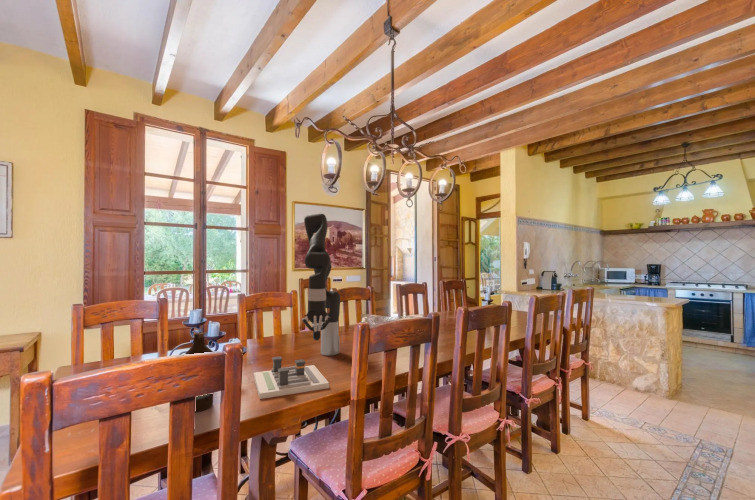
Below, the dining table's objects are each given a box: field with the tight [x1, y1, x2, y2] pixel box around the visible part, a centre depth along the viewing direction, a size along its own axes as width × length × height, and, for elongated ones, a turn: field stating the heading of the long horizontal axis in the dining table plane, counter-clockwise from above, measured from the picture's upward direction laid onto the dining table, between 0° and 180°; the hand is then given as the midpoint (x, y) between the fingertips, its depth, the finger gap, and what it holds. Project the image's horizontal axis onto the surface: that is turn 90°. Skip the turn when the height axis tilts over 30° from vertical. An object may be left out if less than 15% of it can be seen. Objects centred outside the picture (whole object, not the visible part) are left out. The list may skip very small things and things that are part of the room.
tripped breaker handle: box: [294, 358, 306, 376], centre depth 140 cm, size 4×4×6 cm
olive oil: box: [184, 332, 214, 413], centre depth 116 cm, size 11×11×25 cm
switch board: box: [253, 356, 330, 400], centre depth 139 cm, size 26×24×8 cm
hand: (316, 339), depth 143 cm, fingers closed
